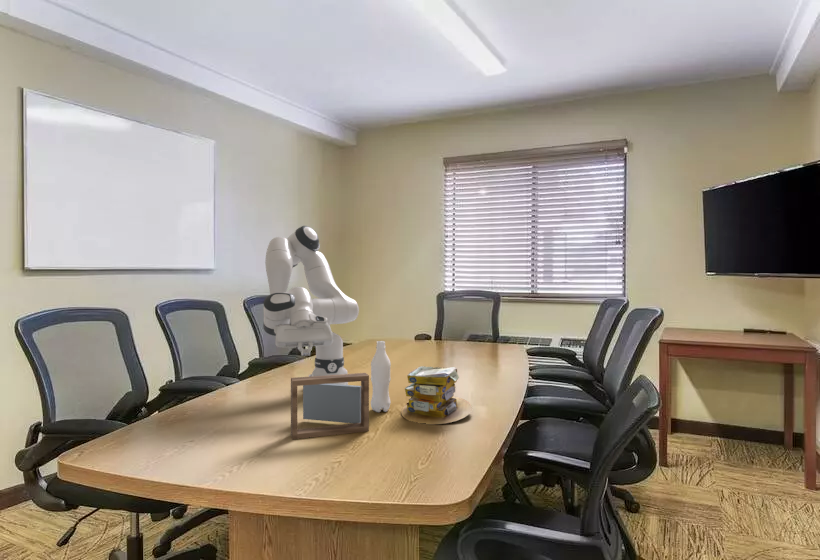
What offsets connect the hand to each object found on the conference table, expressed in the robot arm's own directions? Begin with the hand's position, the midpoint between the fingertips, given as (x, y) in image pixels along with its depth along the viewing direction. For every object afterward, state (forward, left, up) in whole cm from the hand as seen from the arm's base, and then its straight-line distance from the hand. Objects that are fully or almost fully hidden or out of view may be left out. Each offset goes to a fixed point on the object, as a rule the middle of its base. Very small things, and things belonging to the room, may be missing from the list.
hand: (306, 354), depth 176 cm
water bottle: (+4, +26, -21) cm, 34 cm away
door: (+14, +6, -20) cm, 25 cm away
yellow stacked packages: (+15, +43, -21) cm, 51 cm away
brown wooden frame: (+23, +4, -21) cm, 31 cm away
